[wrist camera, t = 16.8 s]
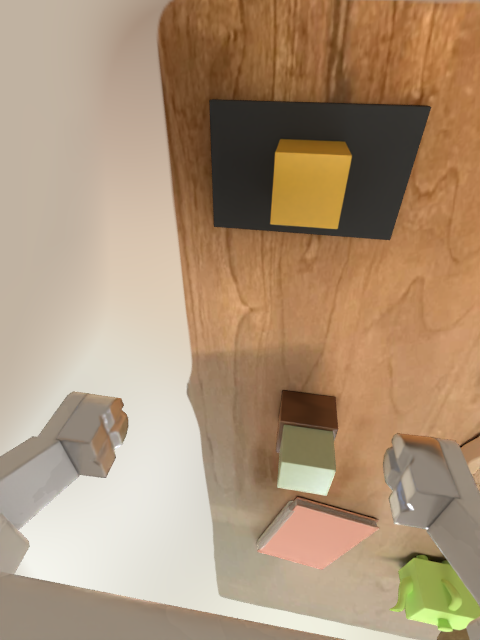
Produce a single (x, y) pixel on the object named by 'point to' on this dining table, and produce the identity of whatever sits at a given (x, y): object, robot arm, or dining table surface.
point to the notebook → (314, 533)
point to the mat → (322, 125)
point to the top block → (309, 183)
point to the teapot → (435, 595)
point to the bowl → (454, 635)
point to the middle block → (306, 460)
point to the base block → (306, 413)
